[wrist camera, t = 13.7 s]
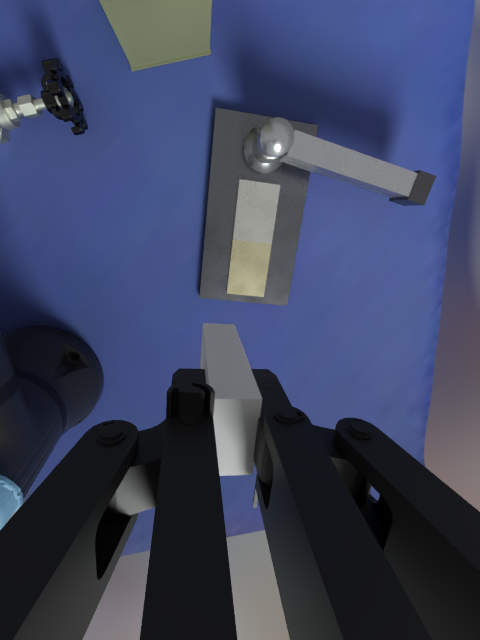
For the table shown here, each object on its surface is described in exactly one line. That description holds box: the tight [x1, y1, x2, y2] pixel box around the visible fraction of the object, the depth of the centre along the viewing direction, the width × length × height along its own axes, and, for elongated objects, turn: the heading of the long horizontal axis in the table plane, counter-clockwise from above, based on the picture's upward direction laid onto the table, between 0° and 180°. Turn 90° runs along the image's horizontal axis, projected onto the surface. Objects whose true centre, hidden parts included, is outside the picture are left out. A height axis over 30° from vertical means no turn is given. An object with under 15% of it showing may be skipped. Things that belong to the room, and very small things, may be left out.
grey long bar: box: [252, 117, 436, 206], centre depth 35 cm, size 19×3×6 cm, turn 74°
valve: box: [0, 58, 88, 144], centre depth 32 cm, size 7×7×12 cm
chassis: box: [200, 108, 318, 306], centre depth 40 cm, size 12×22×2 cm, turn 173°
